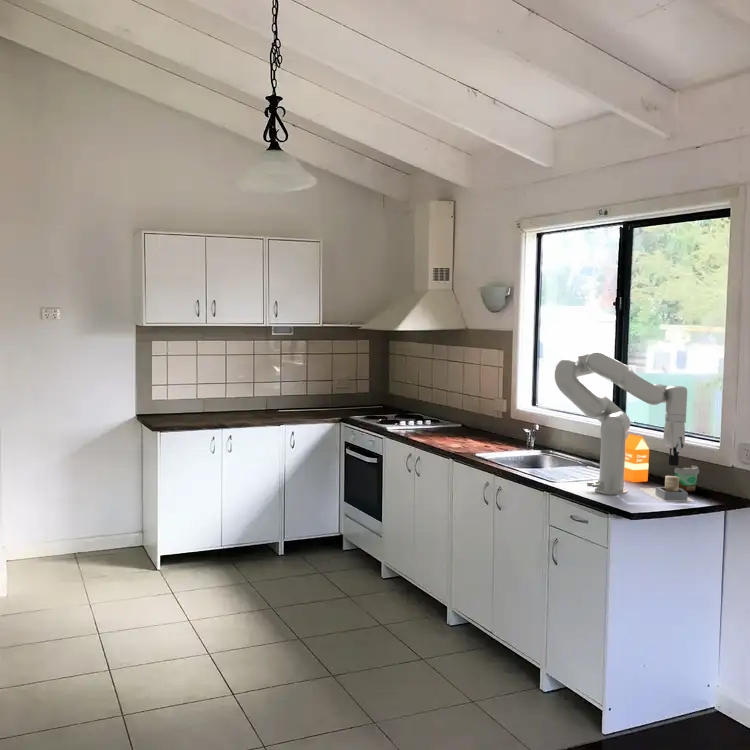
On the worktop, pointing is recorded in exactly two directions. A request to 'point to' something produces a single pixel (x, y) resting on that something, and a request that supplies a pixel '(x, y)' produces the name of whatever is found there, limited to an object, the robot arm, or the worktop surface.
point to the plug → (671, 483)
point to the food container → (687, 477)
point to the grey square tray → (671, 494)
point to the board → (652, 492)
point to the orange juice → (636, 459)
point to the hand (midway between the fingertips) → (673, 465)
